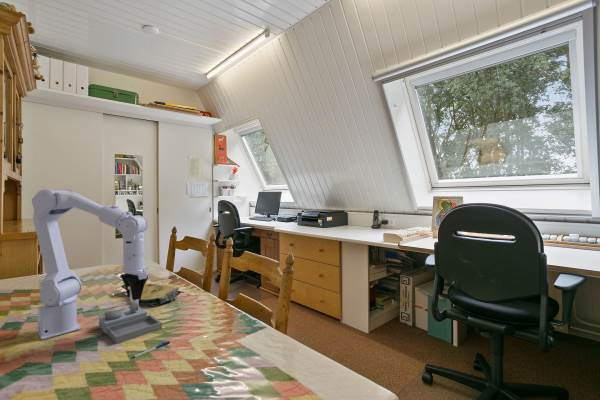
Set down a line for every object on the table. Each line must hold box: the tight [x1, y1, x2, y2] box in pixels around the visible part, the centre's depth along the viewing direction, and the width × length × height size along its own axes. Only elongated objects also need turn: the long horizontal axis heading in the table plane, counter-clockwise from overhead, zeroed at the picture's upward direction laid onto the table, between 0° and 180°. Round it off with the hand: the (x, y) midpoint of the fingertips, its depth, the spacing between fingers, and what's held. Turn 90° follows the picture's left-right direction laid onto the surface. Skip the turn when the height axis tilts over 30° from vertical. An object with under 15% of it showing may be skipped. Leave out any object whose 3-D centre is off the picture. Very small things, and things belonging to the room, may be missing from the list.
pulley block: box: [121, 283, 185, 308], centre depth 122 cm, size 14×6×30 cm
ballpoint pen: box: [130, 340, 171, 360], centre depth 82 cm, size 10×1×1 cm, turn 144°
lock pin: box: [128, 285, 140, 312], centre depth 93 cm, size 4×4×8 cm
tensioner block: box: [98, 306, 148, 334], centre depth 98 cm, size 12×7×4 cm, turn 138°
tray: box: [105, 314, 163, 345], centre depth 93 cm, size 13×9×2 cm
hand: (134, 297), depth 93 cm, fingers closed on lock pin, 3 cm apart
